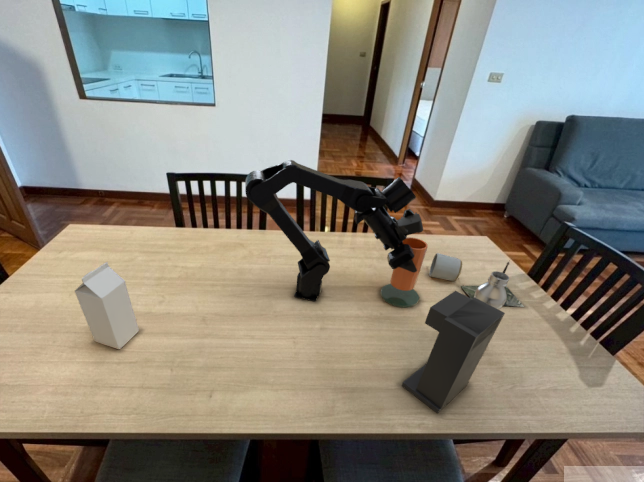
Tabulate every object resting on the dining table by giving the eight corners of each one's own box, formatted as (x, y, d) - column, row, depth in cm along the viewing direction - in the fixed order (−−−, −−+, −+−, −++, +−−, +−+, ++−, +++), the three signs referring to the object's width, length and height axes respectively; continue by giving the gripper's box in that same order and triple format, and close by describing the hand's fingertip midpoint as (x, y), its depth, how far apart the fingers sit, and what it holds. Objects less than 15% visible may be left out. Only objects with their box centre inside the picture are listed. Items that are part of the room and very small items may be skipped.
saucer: (378, 303, 101) (379, 300, 101) (382, 282, 110) (382, 280, 109) (418, 311, 99) (419, 309, 98) (418, 289, 107) (419, 287, 107)
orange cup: (401, 292, 98) (413, 251, 90) (385, 280, 102) (395, 239, 95) (419, 287, 100) (433, 246, 93) (403, 275, 105) (414, 235, 98)
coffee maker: (399, 384, 78) (425, 310, 65) (430, 359, 84) (459, 287, 71) (437, 413, 72) (474, 338, 59) (467, 385, 78) (506, 311, 66)
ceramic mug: (456, 286, 110) (464, 264, 105) (429, 280, 111) (436, 259, 107) (453, 269, 118) (461, 249, 114) (428, 264, 120) (435, 244, 115)
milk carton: (139, 331, 87) (120, 265, 76) (119, 350, 82) (95, 282, 70) (115, 323, 89) (93, 258, 77) (94, 342, 83) (67, 274, 72)
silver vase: (505, 286, 111) (524, 249, 103) (524, 307, 103) (546, 268, 95) (460, 286, 110) (475, 249, 102) (475, 307, 102) (493, 267, 94)
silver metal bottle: (470, 354, 86) (504, 287, 74) (449, 336, 91) (477, 271, 79) (488, 346, 89) (523, 280, 77) (466, 329, 93) (496, 265, 81)
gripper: (415, 220, 80) (449, 266, 86) (403, 191, 95) (433, 232, 101) (374, 247, 85) (408, 289, 91) (369, 216, 100) (399, 254, 106)
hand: (413, 264), depth 97 cm, fingers closed on orange cup, 7 cm apart
